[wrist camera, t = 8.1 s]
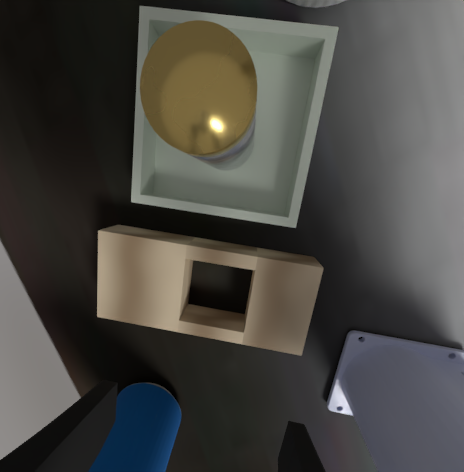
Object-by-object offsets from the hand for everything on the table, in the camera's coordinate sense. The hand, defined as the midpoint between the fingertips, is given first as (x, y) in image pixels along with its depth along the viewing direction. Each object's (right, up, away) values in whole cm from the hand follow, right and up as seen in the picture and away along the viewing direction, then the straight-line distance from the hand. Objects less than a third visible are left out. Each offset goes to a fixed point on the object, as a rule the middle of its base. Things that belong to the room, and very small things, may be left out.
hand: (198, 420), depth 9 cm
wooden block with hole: (-1, +4, +10) cm, 10 cm away
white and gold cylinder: (+1, +14, +7) cm, 16 cm away
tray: (+1, +15, +7) cm, 17 cm away
